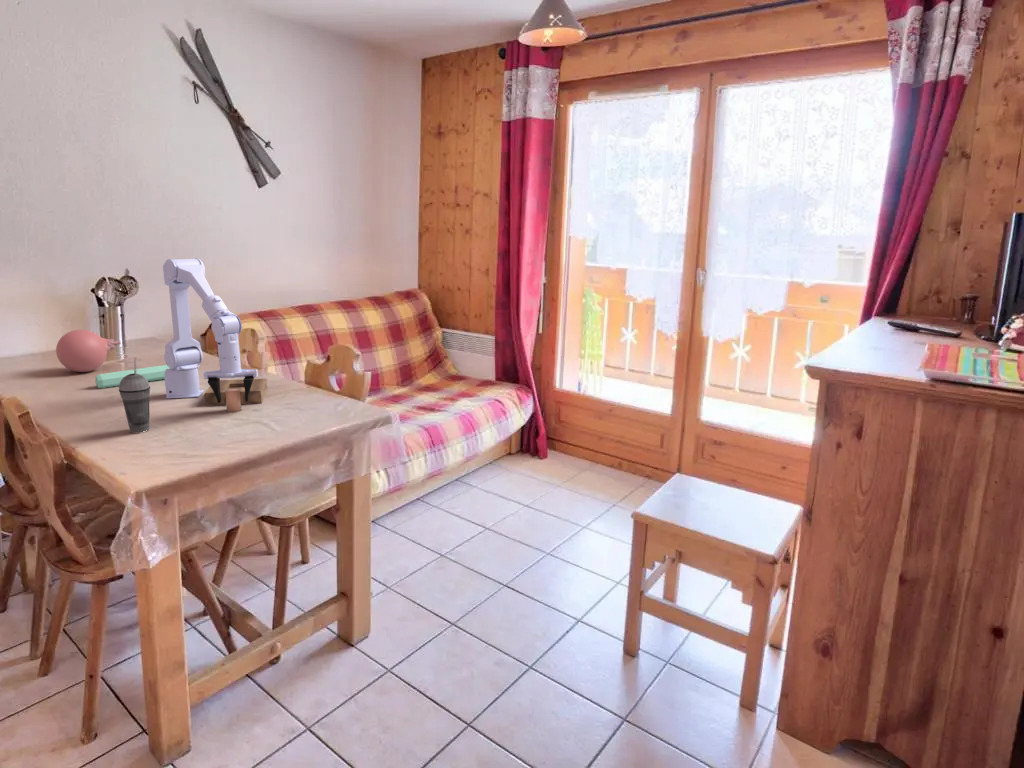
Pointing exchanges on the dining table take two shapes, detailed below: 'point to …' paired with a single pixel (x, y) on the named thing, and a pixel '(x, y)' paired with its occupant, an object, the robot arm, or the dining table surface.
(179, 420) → the dining table surface
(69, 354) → the balloon
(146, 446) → the dining table surface
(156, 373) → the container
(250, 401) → the walnut bore block
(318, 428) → the dining table surface
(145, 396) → the beverage cup
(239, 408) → the terracotta plug
